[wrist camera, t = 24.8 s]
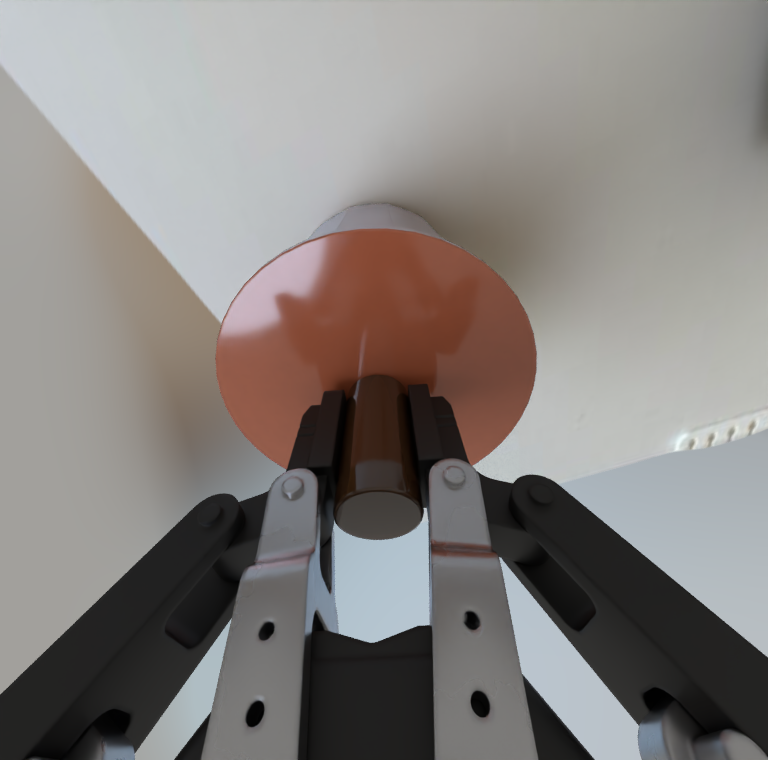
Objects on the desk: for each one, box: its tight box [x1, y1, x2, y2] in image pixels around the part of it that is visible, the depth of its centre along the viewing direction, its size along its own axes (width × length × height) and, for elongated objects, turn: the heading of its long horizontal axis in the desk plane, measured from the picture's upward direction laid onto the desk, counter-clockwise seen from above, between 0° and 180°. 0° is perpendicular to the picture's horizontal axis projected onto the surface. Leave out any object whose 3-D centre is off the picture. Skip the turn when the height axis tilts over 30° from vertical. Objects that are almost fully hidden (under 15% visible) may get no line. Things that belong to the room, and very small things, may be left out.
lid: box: [215, 226, 537, 540], centre depth 11 cm, size 12×12×6 cm
